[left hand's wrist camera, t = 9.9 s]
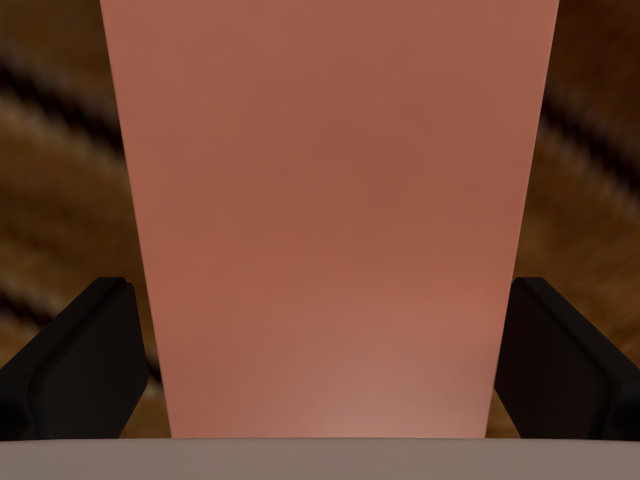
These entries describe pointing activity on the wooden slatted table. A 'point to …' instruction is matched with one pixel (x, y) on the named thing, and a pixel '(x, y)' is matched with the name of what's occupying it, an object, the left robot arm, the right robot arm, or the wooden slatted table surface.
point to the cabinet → (328, 205)
